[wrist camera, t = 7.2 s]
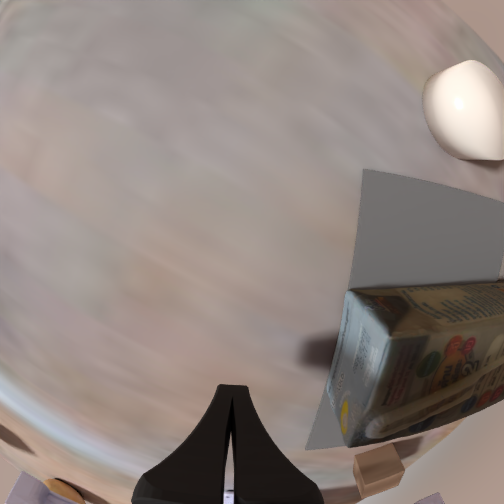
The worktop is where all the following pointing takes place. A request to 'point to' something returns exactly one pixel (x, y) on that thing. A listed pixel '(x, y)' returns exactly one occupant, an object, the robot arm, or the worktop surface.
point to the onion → (64, 490)
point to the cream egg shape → (466, 111)
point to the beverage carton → (416, 359)
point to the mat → (417, 250)
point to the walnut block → (377, 470)
